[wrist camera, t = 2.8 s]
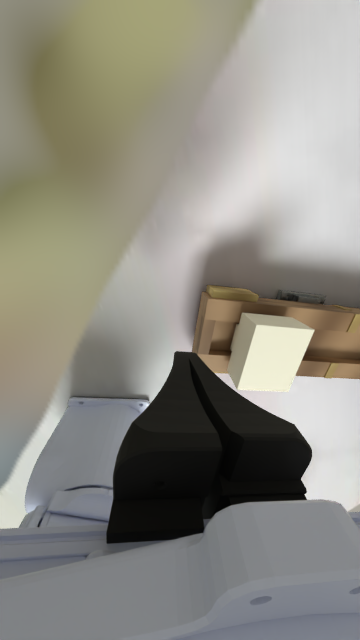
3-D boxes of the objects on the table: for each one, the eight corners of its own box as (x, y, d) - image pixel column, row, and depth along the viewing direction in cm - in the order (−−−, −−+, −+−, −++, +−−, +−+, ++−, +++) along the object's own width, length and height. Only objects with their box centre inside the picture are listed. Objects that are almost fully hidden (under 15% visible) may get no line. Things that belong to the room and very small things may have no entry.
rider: (222, 361, 18) (237, 389, 15) (236, 307, 16) (256, 324, 13) (264, 364, 19) (288, 391, 15) (282, 312, 17) (314, 329, 13)
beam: (189, 358, 20) (194, 376, 17) (202, 284, 17) (209, 291, 15) (362, 368, 23) (390, 385, 20) (398, 306, 20) (437, 316, 17)
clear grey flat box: (257, 358, 22) (263, 365, 21) (279, 290, 19) (288, 293, 18) (294, 360, 23) (303, 367, 22) (321, 295, 20) (333, 298, 19)
